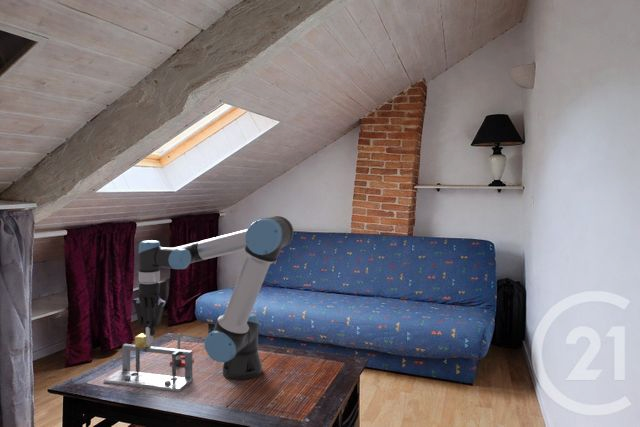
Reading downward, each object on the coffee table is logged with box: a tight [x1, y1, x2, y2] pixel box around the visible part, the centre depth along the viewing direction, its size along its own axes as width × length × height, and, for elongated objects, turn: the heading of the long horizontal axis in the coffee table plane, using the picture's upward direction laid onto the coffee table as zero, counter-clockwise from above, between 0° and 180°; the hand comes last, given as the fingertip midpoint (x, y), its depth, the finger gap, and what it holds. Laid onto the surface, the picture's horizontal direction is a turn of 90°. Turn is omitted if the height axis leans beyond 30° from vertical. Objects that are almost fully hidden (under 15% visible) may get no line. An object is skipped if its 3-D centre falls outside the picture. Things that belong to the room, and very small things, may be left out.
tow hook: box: [169, 333, 195, 367], centre depth 189 cm, size 8×13×9 cm
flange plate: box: [103, 369, 193, 393], centre depth 170 cm, size 30×9×2 cm, turn 78°
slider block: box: [134, 332, 152, 374], centre depth 176 cm, size 4×6×13 cm, turn 168°
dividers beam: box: [121, 343, 193, 379], centre depth 175 cm, size 28×5×10 cm, turn 78°
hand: (149, 343), depth 176 cm, fingers closed
